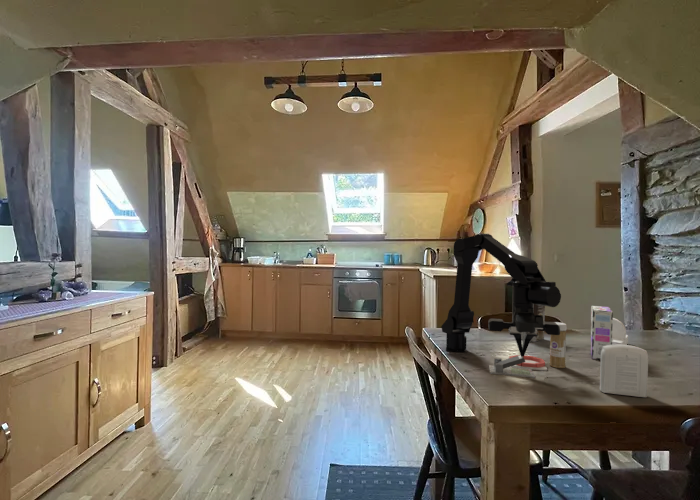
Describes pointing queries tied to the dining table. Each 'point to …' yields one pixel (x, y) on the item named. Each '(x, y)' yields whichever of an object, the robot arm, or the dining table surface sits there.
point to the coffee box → (541, 311)
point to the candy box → (600, 329)
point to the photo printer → (624, 370)
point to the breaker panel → (509, 370)
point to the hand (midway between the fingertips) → (522, 356)
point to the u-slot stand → (619, 333)
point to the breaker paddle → (512, 361)
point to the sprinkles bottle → (558, 347)
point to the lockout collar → (531, 363)
